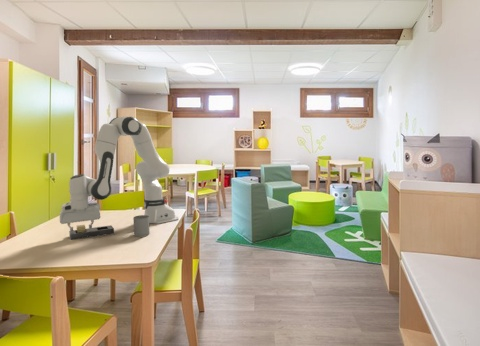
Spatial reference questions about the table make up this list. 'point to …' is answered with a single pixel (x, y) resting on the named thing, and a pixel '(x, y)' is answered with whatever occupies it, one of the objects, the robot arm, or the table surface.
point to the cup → (141, 225)
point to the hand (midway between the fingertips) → (81, 229)
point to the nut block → (81, 228)
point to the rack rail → (92, 232)
